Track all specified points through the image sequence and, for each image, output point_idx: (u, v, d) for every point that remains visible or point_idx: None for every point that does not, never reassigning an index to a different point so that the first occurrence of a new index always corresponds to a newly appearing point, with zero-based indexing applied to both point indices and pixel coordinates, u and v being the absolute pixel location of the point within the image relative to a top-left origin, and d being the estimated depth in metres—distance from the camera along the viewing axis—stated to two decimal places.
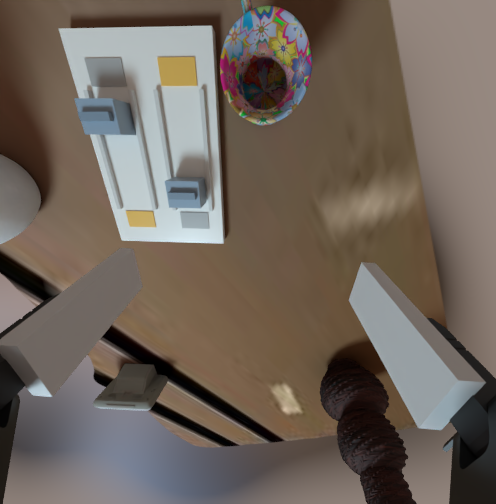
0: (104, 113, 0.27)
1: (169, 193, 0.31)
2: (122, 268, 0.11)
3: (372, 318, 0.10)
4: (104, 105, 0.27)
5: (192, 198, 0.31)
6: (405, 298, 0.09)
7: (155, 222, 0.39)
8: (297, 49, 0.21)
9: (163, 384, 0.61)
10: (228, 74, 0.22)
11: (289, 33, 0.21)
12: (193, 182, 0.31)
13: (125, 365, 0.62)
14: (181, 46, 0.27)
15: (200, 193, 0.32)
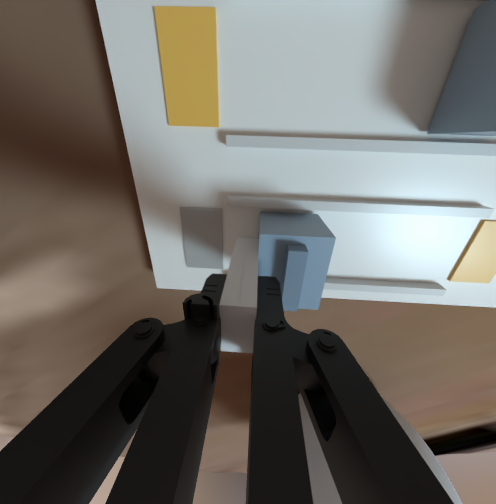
0: (291, 259, 0.11)
1: None
2: None
3: None
4: (271, 256, 0.12)
5: None
6: (256, 261, 0.11)
7: None
8: None
9: None
10: None
11: None
12: None
13: None
14: (141, 51, 0.11)
15: None
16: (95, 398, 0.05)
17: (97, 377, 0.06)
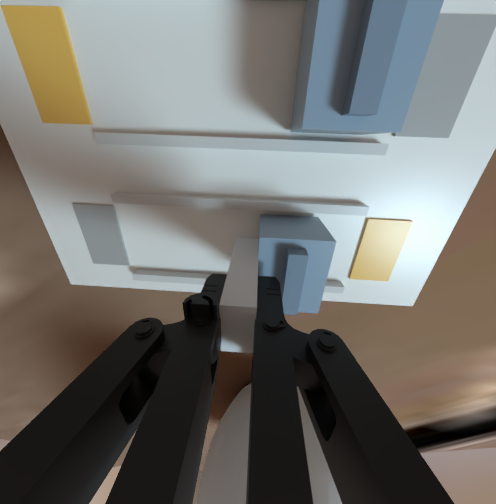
0: (291, 263, 0.11)
1: (353, 104, 0.08)
2: None
3: None
4: (271, 259, 0.12)
5: None
6: (256, 261, 0.11)
7: (399, 221, 0.15)
8: None
9: None
10: None
11: None
12: None
13: None
14: (0, 50, 0.12)
15: None
16: (95, 398, 0.05)
17: (97, 377, 0.06)
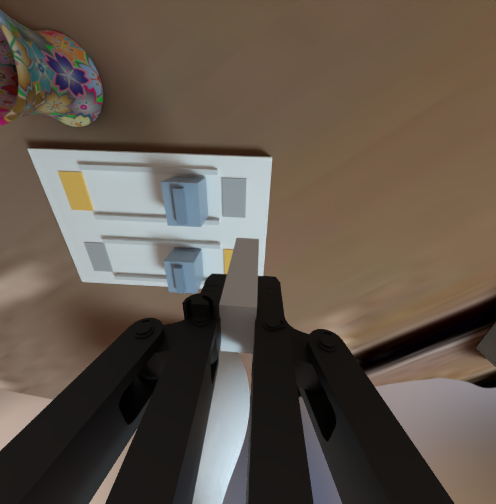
0: (175, 271, 0.27)
1: (177, 222, 0.24)
2: None
3: None
4: (170, 269, 0.28)
5: (180, 192, 0.22)
6: (256, 261, 0.11)
7: None
8: None
9: None
10: None
11: None
12: (163, 188, 0.23)
13: (479, 348, 0.40)
14: (55, 184, 0.28)
15: (180, 181, 0.23)
16: (95, 398, 0.05)
17: (97, 377, 0.06)
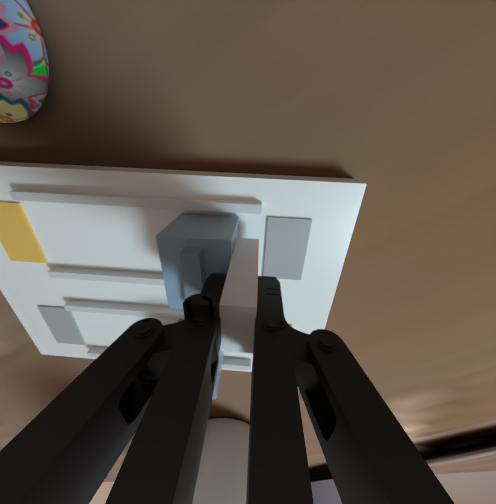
0: None
1: None
2: None
3: None
4: None
5: (195, 260, 0.11)
6: (256, 261, 0.11)
7: None
8: None
9: None
10: None
11: None
12: (160, 247, 0.11)
13: None
14: None
15: (195, 233, 0.12)
16: (95, 398, 0.05)
17: (97, 377, 0.06)
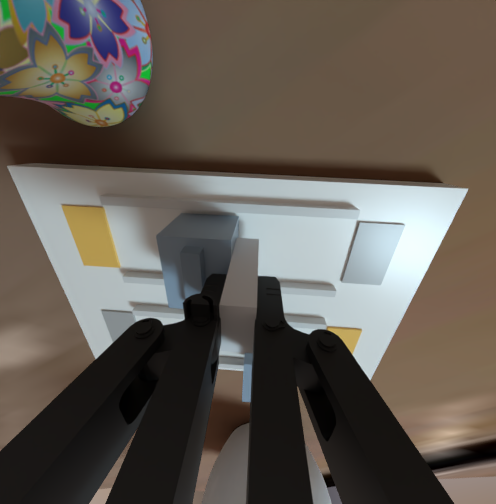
0: None
1: None
2: None
3: None
4: None
5: (196, 260, 0.11)
6: (256, 261, 0.11)
7: (352, 328, 0.19)
8: None
9: None
10: None
11: None
12: (160, 247, 0.11)
13: None
14: (57, 225, 0.16)
15: (195, 232, 0.12)
16: (95, 398, 0.05)
17: (97, 377, 0.06)
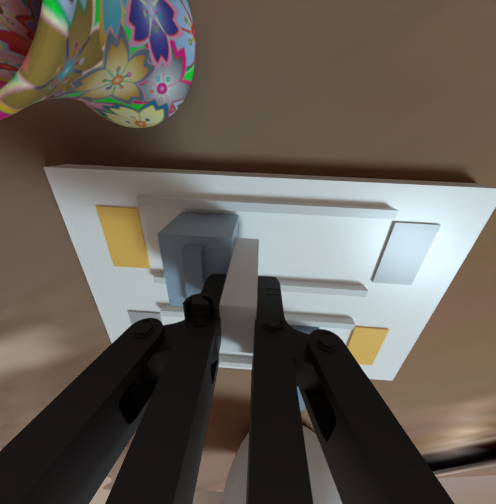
0: None
1: None
2: None
3: None
4: None
5: (196, 257, 0.11)
6: (256, 261, 0.11)
7: (378, 328, 0.19)
8: None
9: None
10: None
11: None
12: (161, 245, 0.12)
13: None
14: (90, 226, 0.16)
15: (195, 231, 0.12)
16: (95, 398, 0.05)
17: (97, 377, 0.06)
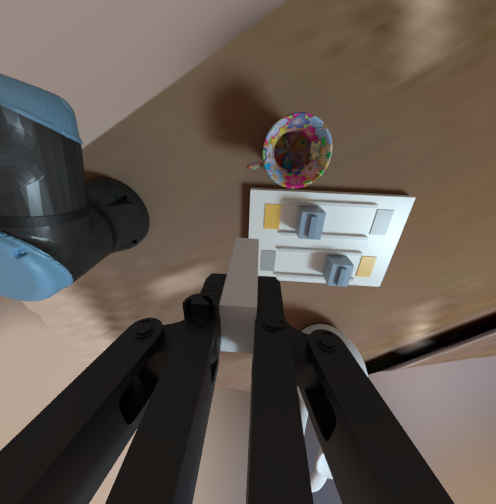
0: (342, 271, 0.40)
1: (308, 236, 0.38)
2: None
3: None
4: (335, 270, 0.41)
5: (316, 219, 0.36)
6: (256, 261, 0.11)
7: (372, 257, 0.44)
8: (284, 125, 0.28)
9: None
10: (292, 182, 0.31)
11: (275, 133, 0.28)
12: (302, 216, 0.37)
13: None
14: (259, 211, 0.41)
15: (312, 211, 0.37)
16: (95, 398, 0.05)
17: (97, 377, 0.06)
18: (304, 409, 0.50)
